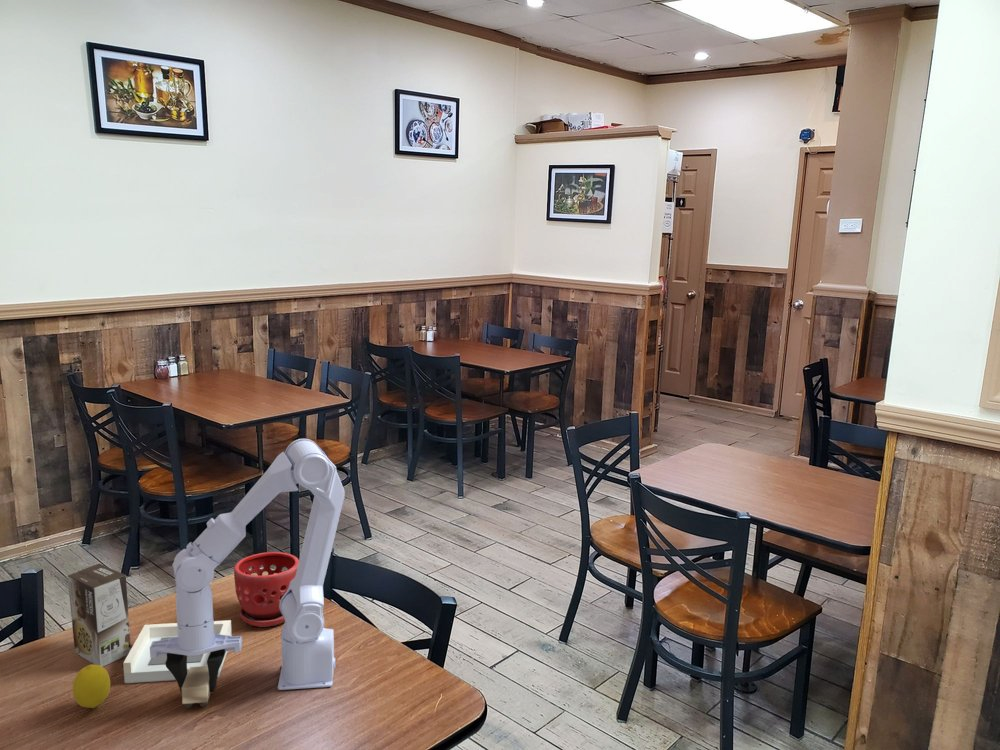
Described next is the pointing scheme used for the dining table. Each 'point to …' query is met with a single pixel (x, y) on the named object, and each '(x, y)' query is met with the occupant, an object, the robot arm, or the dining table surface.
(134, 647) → the dock
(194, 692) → the cream rectangular block
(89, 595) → the coffee box
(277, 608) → the plant pot
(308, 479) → the robot arm
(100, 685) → the lemon
